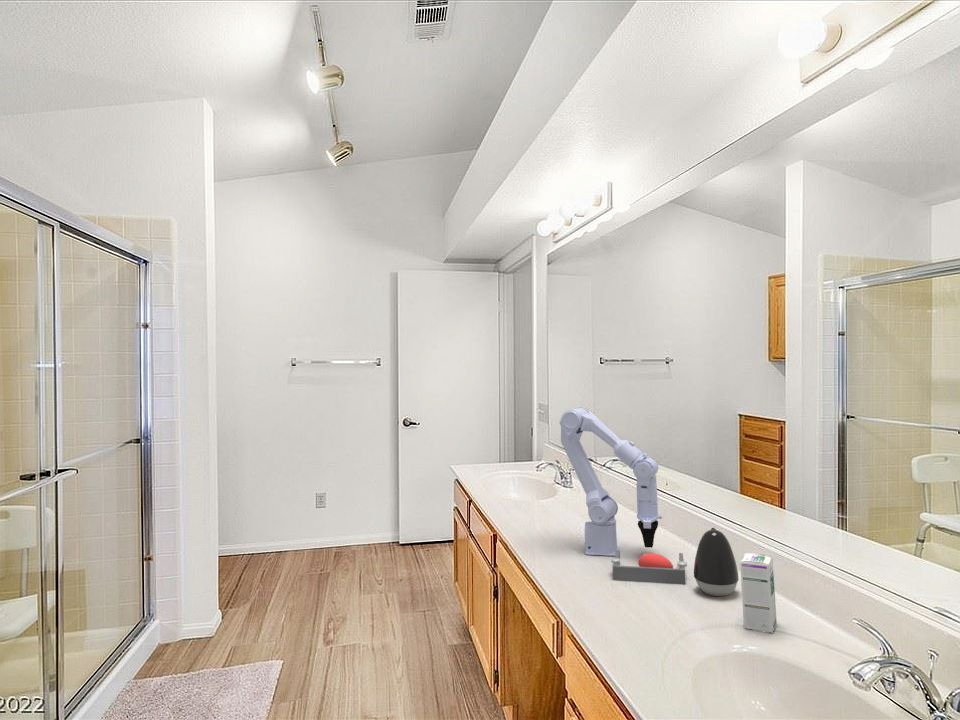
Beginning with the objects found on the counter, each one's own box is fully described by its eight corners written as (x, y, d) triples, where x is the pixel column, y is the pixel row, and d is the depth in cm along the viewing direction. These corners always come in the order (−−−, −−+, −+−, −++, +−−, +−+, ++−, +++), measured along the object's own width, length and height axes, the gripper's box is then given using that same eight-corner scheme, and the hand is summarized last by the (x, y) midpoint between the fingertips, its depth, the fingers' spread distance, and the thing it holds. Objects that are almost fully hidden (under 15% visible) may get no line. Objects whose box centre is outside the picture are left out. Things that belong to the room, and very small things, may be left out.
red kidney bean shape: (658, 584, 157) (670, 562, 157) (631, 564, 164) (642, 543, 164) (667, 585, 161) (678, 564, 161) (640, 565, 168) (650, 545, 167)
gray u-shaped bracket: (610, 579, 158) (609, 564, 158) (614, 562, 171) (613, 547, 172) (688, 584, 153) (687, 568, 153) (685, 566, 166) (685, 551, 166)
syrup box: (773, 634, 124) (770, 563, 124) (742, 628, 127) (739, 559, 127) (776, 623, 129) (773, 555, 129) (746, 618, 132) (744, 551, 132)
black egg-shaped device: (737, 586, 150) (734, 525, 150) (741, 602, 140) (738, 537, 140) (694, 582, 154) (691, 523, 154) (694, 598, 144) (691, 534, 144)
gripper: (661, 506, 166) (663, 555, 166) (661, 494, 180) (663, 540, 180) (635, 505, 168) (636, 554, 168) (637, 494, 182) (638, 538, 182)
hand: (648, 546), depth 174 cm, fingers closed
